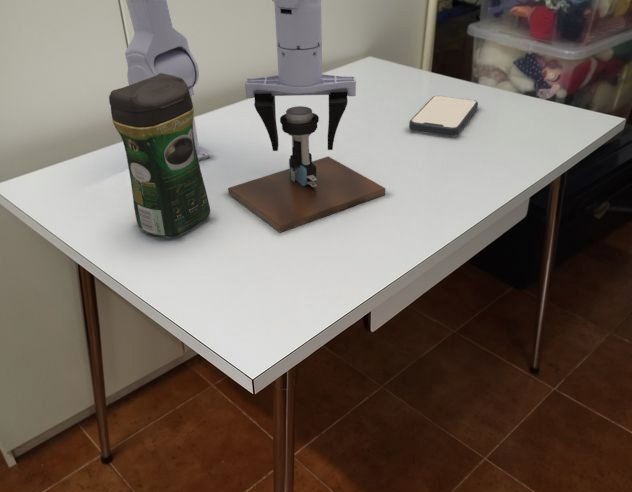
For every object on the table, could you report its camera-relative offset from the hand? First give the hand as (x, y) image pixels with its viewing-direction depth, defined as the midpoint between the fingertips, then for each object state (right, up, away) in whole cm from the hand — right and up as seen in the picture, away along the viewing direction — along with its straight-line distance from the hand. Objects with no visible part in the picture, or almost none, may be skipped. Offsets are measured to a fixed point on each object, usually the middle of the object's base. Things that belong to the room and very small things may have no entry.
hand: (302, 147), depth 88 cm
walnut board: (0, -6, +2) cm, 6 cm away
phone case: (+25, +12, +23) cm, 36 cm away
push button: (0, -4, +3) cm, 5 cm away
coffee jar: (-17, -11, -3) cm, 21 cm away
